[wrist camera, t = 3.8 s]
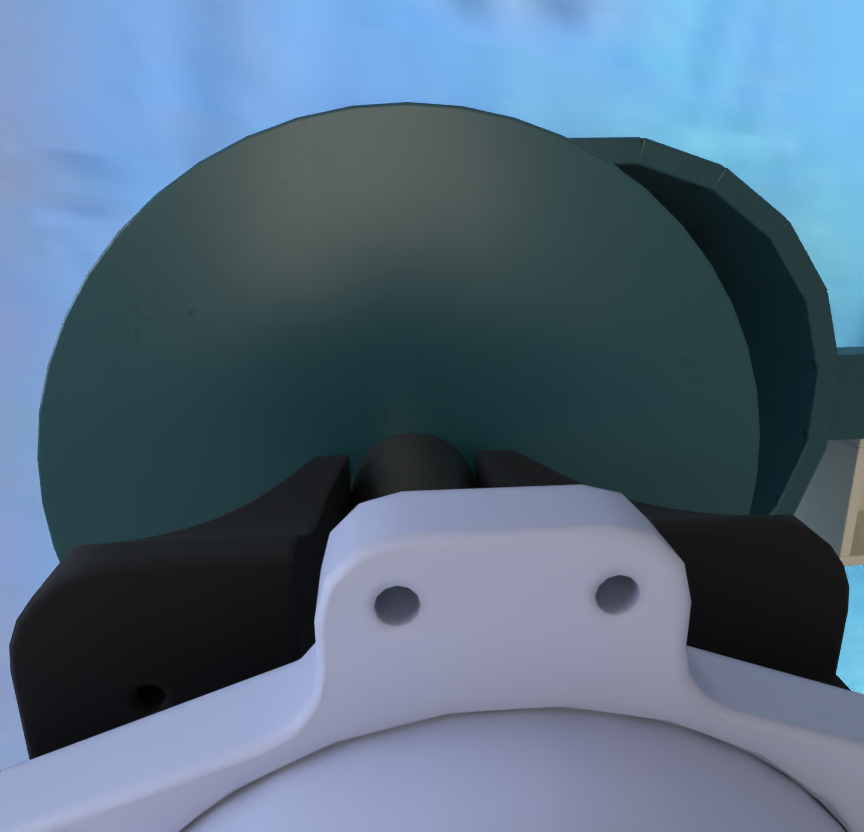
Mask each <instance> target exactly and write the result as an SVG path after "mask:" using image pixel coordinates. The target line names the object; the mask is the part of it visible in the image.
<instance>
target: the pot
mask: <svg viewBox="0 0 864 832" xmlns="http://www.w3.org/2000/svg"><path fill="white" fill-rule="evenodd" d="M568 139H570V140H572V141H573V142H575V143H577V144H579V145H581V146H583V147H584V148H586V149H588V150H590V151H592V152H593V153H595V154H597V155H599V156H601V157H603V158H604V159H606V160H608V161H610V162H611V163H612V164H614V165H615V166H616V167H618V168H619V169H620V170H621V171H623V172H624V173H625V174H627V175H628V176H629V177H631V178H632V179H633V180H635V181H636V182H637V183H639V184H640V185H641V186H643V187H644V188H645V189H647V190H648V191H649V192H650V193H651V194H652V195H653V196H654V197H655V198H656V199H657V200H658V201H659V202H660V203H661V204H662V205H663V206H664V207H665V208H666V209H667V210H668V211H669V212H670V213H671V214H672V215H673V216H674V217H675V218H676V219H677V220H678V221H679V222H680V223H681V224H682V225H683V226H684V228H685V229H686V230H687V232H688V233H689V235H690V236H691V237H692V239H693V240H694V241H695V243H696V244H697V245H698V247H699V248H700V250H701V251H702V252H703V254H704V255H705V256H706V258H707V259H708V260H709V262H710V263H711V265H712V267H713V268H714V270H715V272H716V274H717V276H718V278H719V280H720V282H721V283H722V285H723V287H724V289H725V291H726V293H727V295H728V297H729V298H730V300H731V302H732V304H733V307H734V309H735V312H736V315H737V318H738V320H739V323H740V326H741V329H742V332H743V334H744V337H745V340H746V343H747V345H748V349H749V353H750V358H751V363H752V368H753V373H754V378H755V383H756V387H757V394H758V410H759V426H760V442H759V456H758V469H757V479H756V484H755V489H754V493H753V498H752V503H751V508H750V513H749V515H794V514H795V512H796V510H797V508H798V506H799V504H800V502H801V500H802V497H803V495H804V493H805V491H806V489H807V487H808V485H809V483H810V481H811V479H812V477H813V475H814V473H815V471H816V469H817V467H818V465H819V462H820V460H821V458H822V456H823V454H824V452H825V450H826V448H827V446H826V445H827V444H828V440H849V439H864V347H843V348H836V341H835V335H834V329H833V323H832V316H831V310H830V304H829V298H828V293H827V288H826V287H825V285H824V283H823V281H822V279H821V278H820V276H819V274H818V272H817V270H816V269H815V267H814V265H813V263H812V261H811V260H810V258H809V256H808V254H807V252H806V250H805V249H804V247H803V245H802V243H801V241H800V240H799V238H798V236H797V234H796V232H795V231H794V229H793V227H792V225H791V223H790V222H789V221H787V219H786V218H785V217H784V216H783V215H782V214H781V213H780V212H778V211H777V210H776V209H775V208H774V207H772V206H771V205H770V204H769V203H768V202H767V201H765V200H764V199H763V198H762V197H761V196H759V195H758V194H757V193H756V192H755V191H754V190H752V189H751V188H750V187H749V186H748V185H747V184H745V183H744V182H743V181H742V180H741V179H739V178H738V177H737V176H736V175H735V174H734V173H732V172H731V171H730V170H729V169H728V168H724V167H723V166H722V165H720V164H717V163H715V162H712V161H709V160H706V159H703V158H700V157H698V156H695V155H692V154H689V153H686V152H683V151H681V150H678V149H675V148H672V147H669V146H666V145H664V144H661V143H658V142H655V141H652V140H649V139H647V138H643V139H642V138H640V137H611V138H568Z"/></svg>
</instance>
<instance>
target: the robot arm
mask: <svg viewBox="0 0 864 832" xmlns="http://www.w3.org/2000/svg"><path fill="white" fill-rule="evenodd" d="M476 486H477V489H451V490H425V491H401V492H397V493H394V494H390V495H387V496H383V497H380V498H376V499H373V500H369V501H366V502H363V503H359V504H358V505H357V506H356V507H355V508H354V509H353V510H352V511H351V512H350V503H351V488H350V465H349V455H335V456H316V457H314V458H312V459H311V460H310V461H308V462H307V463H306V464H305V465H303V466H302V467H301V468H300V469H298V470H297V471H296V472H294V473H293V474H292V475H291V476H289V477H288V478H287V479H285V480H284V481H283V482H281V483H280V484H278V485H277V486H275V487H274V488H272V489H271V490H269V491H268V492H266V493H265V494H263V495H262V496H260V497H259V498H257V499H255V500H254V501H252V502H250V503H248V504H246V505H245V506H243V507H241V508H239V509H236V510H234V511H232V512H230V513H228V514H226V515H223V516H221V517H218V518H216V519H213V520H210V521H207V522H204V523H201V524H198V525H195V526H192V527H189V528H186V529H183V530H179V531H175V532H171V533H167V534H163V535H158V536H153V537H147V538H142V539H136V540H130V541H122V542H112V543H101V544H89V545H79V546H74V547H73V548H72V549H71V550H70V552H69V553H68V554H67V555H66V556H65V557H64V559H63V560H62V561H61V562H60V563H59V565H58V566H57V567H56V568H55V570H54V571H53V572H52V573H51V574H50V576H49V577H48V578H47V579H46V581H45V582H44V583H43V584H42V586H41V587H40V588H39V589H38V591H37V592H36V593H35V594H34V596H33V597H32V598H31V600H30V601H29V602H28V604H27V605H26V607H25V608H24V610H23V611H22V613H21V614H20V616H19V617H18V619H17V620H16V624H15V627H14V631H13V634H12V638H11V641H10V645H9V650H10V669H11V676H12V680H13V685H14V690H15V694H16V699H17V704H18V708H19V713H20V717H21V722H22V727H23V731H24V736H25V741H26V745H27V750H28V754H29V759H30V760H29V761H26V762H23V763H21V764H18V765H15V766H12V767H10V768H7V769H4V770H2V771H0V832H864V694H860V693H857V692H853V691H851V690H850V689H849V688H848V687H847V686H846V685H845V684H844V683H843V681H842V680H841V679H840V678H839V677H838V676H837V675H836V670H837V664H838V659H839V654H840V649H841V644H842V639H843V633H844V628H845V623H846V618H847V613H848V601H849V584H848V580H847V576H846V572H845V568H844V565H843V563H842V561H841V560H840V558H839V557H838V555H837V554H836V552H835V551H834V549H833V548H832V546H831V545H830V544H829V543H827V542H826V541H825V540H824V539H822V538H821V537H820V536H819V535H818V534H816V533H815V532H814V531H813V530H811V529H810V528H809V527H808V526H807V525H805V524H804V523H803V522H802V521H800V520H799V519H798V518H797V517H795V516H794V515H728V514H716V513H704V512H694V511H686V510H679V509H673V508H667V507H662V506H657V505H651V504H646V503H642V502H638V501H634V500H630V499H627V498H626V497H625V496H624V495H623V494H622V493H619V492H614V491H610V490H605V489H600V488H596V487H591V486H588V485H585V484H583V483H581V482H578V481H576V480H573V479H571V478H569V477H567V476H565V475H562V474H560V473H558V472H556V471H554V470H552V469H550V468H548V467H546V466H544V465H542V464H540V463H538V462H536V461H534V460H532V459H530V458H528V457H526V456H524V455H522V454H520V453H518V452H515V451H512V450H480V451H476Z"/></svg>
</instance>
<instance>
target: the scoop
mask: <svg viewBox="0 0 864 832" xmlns="http://www.w3.org/2000/svg"><path fill="white" fill-rule="evenodd" d="M826 446H827V448H826V450H825V452H824V454H823V456H822V458H821V460H820V462H819V465H818V467H817V469H816V471H815V473H814V475H813V477H812V479H811V481H810V483H809V485H808V487H807V489H806V491H805V493H804V495H803V497H802V500H801V502H800V504H799V506H798V508H797V510H796V512H795V514H794V516H795V517H797V518H798V519H799V520H800V521H802V522H803V523H804V524H805V525H807V526H808V527H809V528H810V529H811V530H813V531H814V532H815V533H816V534H818V535H819V536H820V537H821V538H822V539H824V540H825V541H826V542H827V543H829V544H830V545H831V546H832V548H833V549H834V551H835V552H836V554H837V555H838V557H839V558H840V560H841V561H842V563H843V565H844V566H850V565H864V439H849V440H828V444H827V445H826Z"/></svg>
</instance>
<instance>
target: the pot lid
mask: <svg viewBox="0 0 864 832" xmlns="http://www.w3.org/2000/svg"><path fill="white" fill-rule="evenodd" d="M759 442H760V426H759V410H758V394H757V387H756V383H755V378H754V373H753V368H752V363H751V358H750V353H749V349H748V345H747V343H746V340H745V337H744V334H743V332H742V329H741V326H740V323H739V320H738V318H737V315H736V312H735V309H734V307H733V304H732V302H731V300H730V298H729V297H728V295H727V293H726V291H725V289H724V287H723V285H722V283H721V282H720V280H719V278H718V276H717V274H716V272H715V270H714V268H713V267H712V265H711V263H710V262H709V260H708V259H707V258H706V256H705V255H704V254H703V252H702V251H701V250H700V248H699V247H698V245H697V244H696V243H695V241H694V240H693V239H692V237H691V236H690V235H689V233H688V232H687V230H686V229H685V228H684V226H683V225H682V224H681V223H680V222H679V221H678V220H677V219H676V218H675V217H674V216H673V215H672V214H671V213H670V212H669V211H668V210H667V209H666V208H665V207H664V206H663V205H662V204H661V203H660V202H659V201H658V200H657V199H656V198H655V197H654V196H653V195H652V194H651V193H650V192H649V191H648V190H647V189H645V188H644V187H643V186H641V185H640V184H639V183H637V182H636V181H635V180H633V179H632V178H631V177H629V176H628V175H627V174H625V173H624V172H623V171H621V170H620V169H619V168H618V167H616V166H615V165H614V164H612V163H611V162H610V161H608V160H606V159H604V158H603V157H601V156H599V155H597V154H595V153H593V152H592V151H590V150H588V149H586V148H584V147H583V146H581V145H579V144H577V143H575V142H573V141H572V140H570V139H568V138H566V137H564V136H562V135H559V134H557V133H554V132H551V131H549V130H546V129H543V128H541V127H538V126H535V125H533V124H530V123H527V122H525V121H522V120H519V119H517V118H514V117H509V116H505V115H500V114H496V113H491V112H486V111H482V110H477V109H473V108H468V107H464V106H454V105H440V104H427V103H413V102H401V103H386V104H372V105H357V106H349V107H344V108H340V109H335V110H330V111H326V112H321V113H316V114H312V115H307V116H302V117H298V118H295V119H292V120H290V121H287V122H284V123H282V124H279V125H276V126H274V127H271V128H268V129H265V130H263V131H260V132H257V133H255V134H252V135H249V136H246V137H245V138H243V139H241V140H239V141H237V142H235V143H234V144H232V145H230V146H228V147H226V148H224V149H222V150H221V151H219V152H217V153H215V154H213V155H211V156H210V157H208V158H206V159H204V160H202V161H200V162H199V163H197V164H196V165H194V166H193V167H192V168H190V169H189V170H188V171H186V172H185V173H184V174H182V175H181V176H180V177H178V178H177V179H176V180H174V181H173V182H172V183H170V184H169V185H168V186H166V187H165V188H164V189H162V190H161V191H160V192H158V193H157V194H156V195H155V196H154V197H153V198H152V199H151V200H150V201H149V202H148V203H147V204H146V205H145V206H144V207H143V208H142V209H141V210H140V211H139V212H138V213H137V214H136V215H135V216H134V217H133V218H132V219H131V220H130V221H129V222H128V223H127V224H126V225H125V226H124V227H123V228H122V229H121V230H120V231H119V232H118V233H117V234H116V236H115V237H114V239H113V240H112V241H111V243H110V244H109V245H108V247H107V248H106V249H105V251H104V252H103V253H102V255H101V256H100V258H99V259H98V260H97V262H96V263H95V264H94V266H93V267H92V268H91V270H90V271H89V272H88V274H87V276H86V278H85V280H84V282H83V283H82V285H81V287H80V289H79V291H78V293H77V295H76V297H75V299H74V300H73V302H72V304H71V306H70V308H69V310H68V312H67V314H66V316H65V318H64V320H63V323H62V326H61V329H60V332H59V334H58V337H57V340H56V343H55V346H54V349H53V352H52V354H51V357H50V360H49V363H48V367H47V373H46V378H45V383H44V389H43V394H42V399H41V404H40V410H39V431H38V457H37V459H38V468H39V477H40V486H41V495H42V504H43V508H44V512H45V516H46V520H47V523H48V527H49V531H50V535H51V539H52V543H53V547H54V549H55V552H56V554H57V557H58V559H59V561H60V562H61V561H62V560H63V559H64V557H65V556H66V555H67V554H68V553H69V552H70V550H71V549H72V548H73V547H74V546H79V545H89V544H101V543H112V542H122V541H130V540H136V539H142V538H147V537H153V536H158V535H163V534H167V533H171V532H175V531H179V530H183V529H186V528H189V527H192V526H195V525H198V524H201V523H204V522H207V521H210V520H213V519H216V518H218V517H221V516H223V515H226V514H228V513H230V512H232V511H234V510H236V509H239V508H241V507H243V506H245V505H246V504H248V503H250V502H252V501H254V500H255V499H257V498H259V497H260V496H262V495H263V494H265V493H266V492H268V491H269V490H271V489H272V488H274V487H275V486H277V485H278V484H280V483H281V482H283V481H284V480H285V479H287V478H288V477H289V476H291V475H292V474H293V473H294V472H296V471H297V470H298V469H300V468H301V467H302V466H303V465H305V464H306V463H307V462H308V461H310V460H311V459H312V458H314V457H316V456H335V455H349V465H350V488H351V503H350V512H351V511H352V510H353V509H354V508H355V507H356V506H357V505H358V504H359V503H363V502H366V501H369V500H373V499H376V498H380V497H383V496H387V495H390V494H394V493H397V492H401V491H425V490H451V489H477V486H476V451H480V450H512V451H515V452H518V453H520V454H522V455H524V456H526V457H528V458H530V459H532V460H534V461H536V462H538V463H540V464H542V465H544V466H546V467H548V468H550V469H552V470H554V471H556V472H558V473H560V474H562V475H565V476H567V477H569V478H571V479H573V480H576V481H578V482H581V483H583V484H585V485H588V486H591V487H596V488H600V489H605V490H610V491H614V492H619V493H622V494H623V495H624V496H625V497H626V498H627V499H630V500H634V501H638V502H642V503H646V504H651V505H657V506H662V507H667V508H673V509H679V510H686V511H694V512H704V513H716V514H728V515H749V513H750V508H751V503H752V498H753V493H754V489H755V484H756V479H757V469H758V456H759Z"/></svg>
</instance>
